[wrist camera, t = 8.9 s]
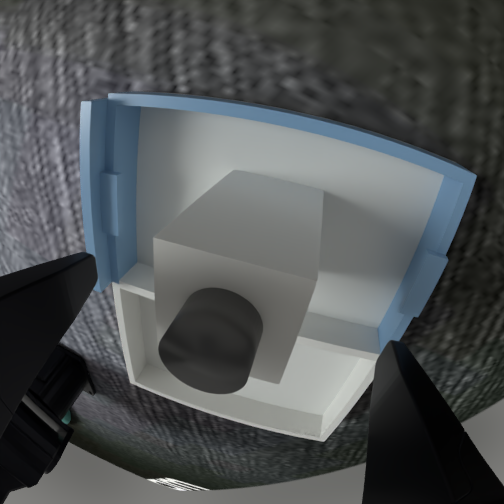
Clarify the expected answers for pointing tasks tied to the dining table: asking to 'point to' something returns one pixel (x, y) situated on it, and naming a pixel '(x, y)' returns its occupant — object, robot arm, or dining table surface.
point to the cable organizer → (331, 247)
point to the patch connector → (236, 281)
